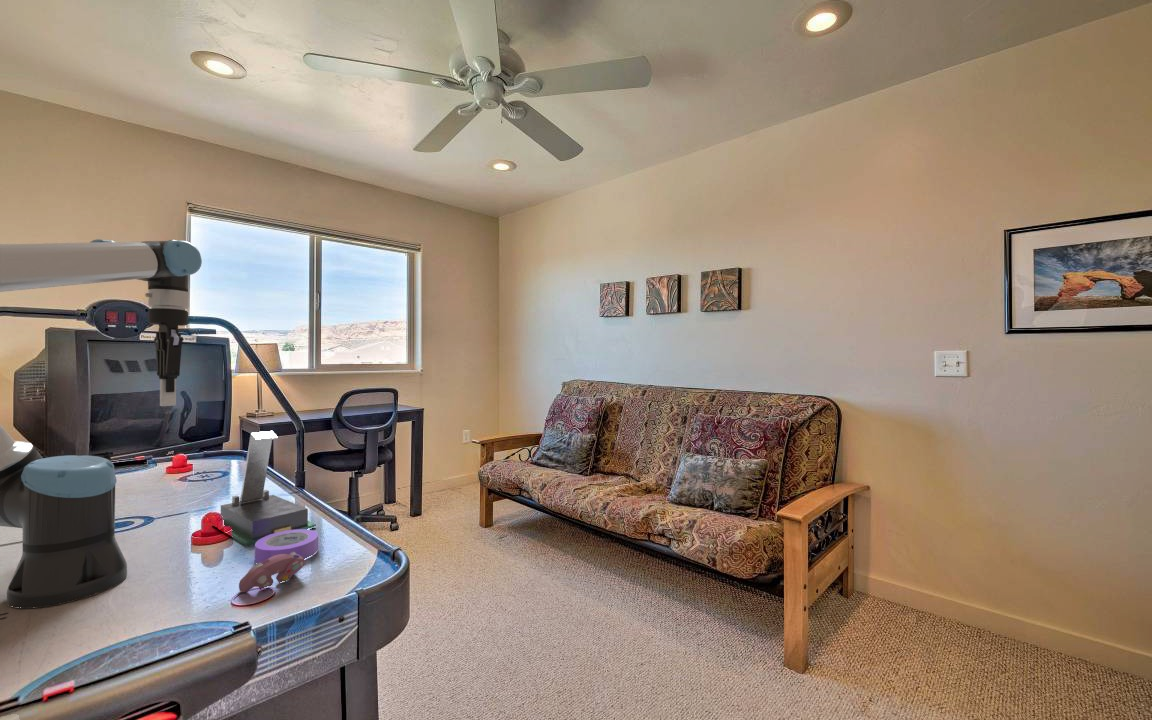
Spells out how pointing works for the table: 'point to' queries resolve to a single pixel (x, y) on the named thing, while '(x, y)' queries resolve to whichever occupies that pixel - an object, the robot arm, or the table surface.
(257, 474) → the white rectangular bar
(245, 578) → the video game controller
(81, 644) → the table surface
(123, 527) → the table surface
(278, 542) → the masking tape
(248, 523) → the grey box device
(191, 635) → the table surface
